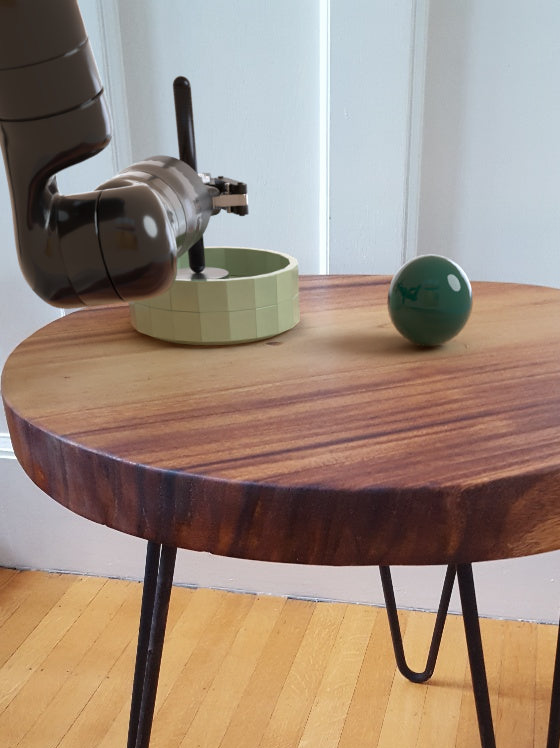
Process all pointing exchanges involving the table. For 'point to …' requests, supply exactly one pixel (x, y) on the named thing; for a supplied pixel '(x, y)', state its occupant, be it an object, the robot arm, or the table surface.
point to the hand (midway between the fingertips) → (196, 184)
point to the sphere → (430, 300)
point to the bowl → (225, 300)
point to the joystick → (190, 158)
